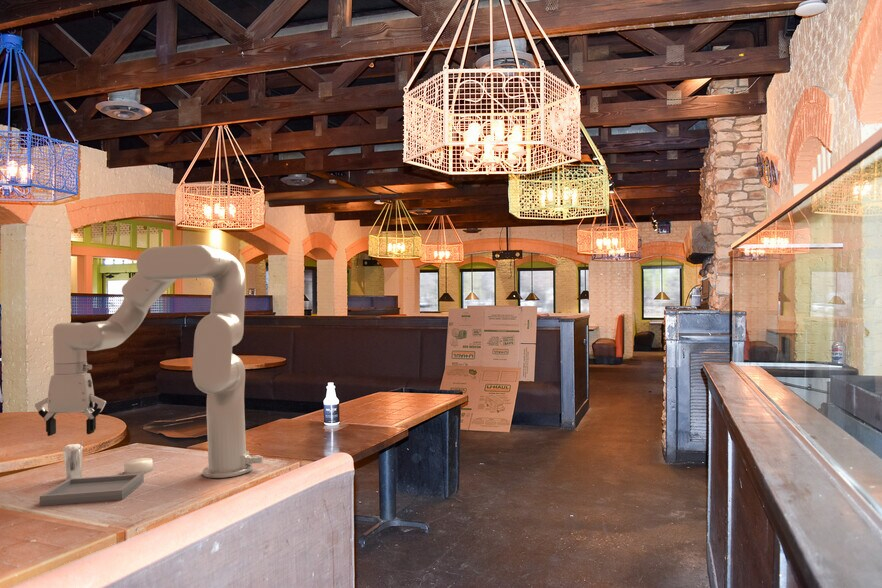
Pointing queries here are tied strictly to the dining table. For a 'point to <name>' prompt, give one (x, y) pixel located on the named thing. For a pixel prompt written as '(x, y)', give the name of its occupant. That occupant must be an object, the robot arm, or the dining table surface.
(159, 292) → the robot arm
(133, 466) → the cream domed disc
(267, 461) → the dining table surface
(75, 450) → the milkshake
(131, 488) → the grey tray
